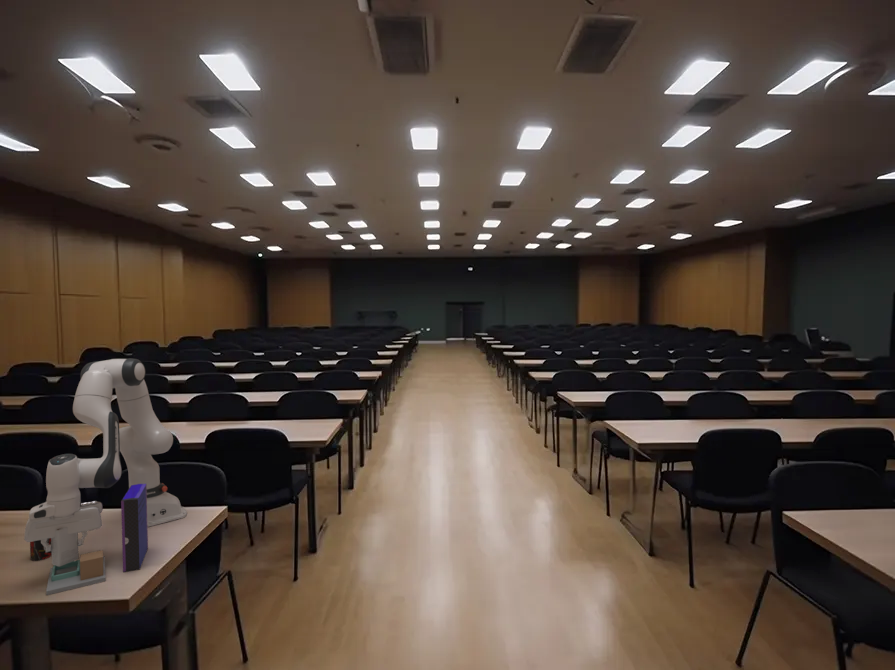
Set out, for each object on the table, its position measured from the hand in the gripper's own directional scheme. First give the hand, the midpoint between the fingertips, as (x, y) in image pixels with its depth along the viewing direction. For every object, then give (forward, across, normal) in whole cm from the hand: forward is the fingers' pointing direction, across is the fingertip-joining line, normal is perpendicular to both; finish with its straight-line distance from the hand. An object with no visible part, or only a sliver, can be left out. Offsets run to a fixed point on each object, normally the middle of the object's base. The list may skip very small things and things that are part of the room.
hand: (65, 548), depth 169 cm
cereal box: (+10, -20, -1) cm, 22 cm away
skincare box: (+5, 0, 0) cm, 5 cm away
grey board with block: (+9, -3, +2) cm, 10 cm away
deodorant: (+10, +8, -22) cm, 25 cm away
